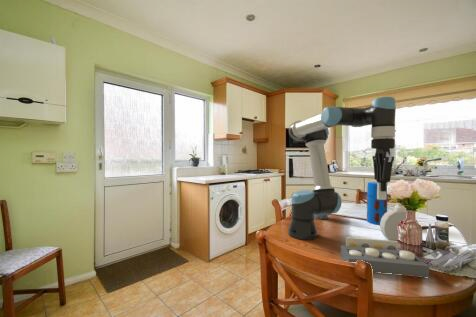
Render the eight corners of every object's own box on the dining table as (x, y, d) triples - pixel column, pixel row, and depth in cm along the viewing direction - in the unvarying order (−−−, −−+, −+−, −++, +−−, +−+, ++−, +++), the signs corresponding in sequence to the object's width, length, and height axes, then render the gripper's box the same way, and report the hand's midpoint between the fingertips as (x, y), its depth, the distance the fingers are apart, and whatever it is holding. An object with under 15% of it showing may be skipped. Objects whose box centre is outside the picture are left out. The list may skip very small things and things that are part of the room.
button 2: (367, 259, 84) (367, 252, 84) (363, 254, 88) (363, 247, 88) (381, 261, 83) (381, 253, 83) (376, 255, 87) (376, 248, 87)
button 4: (403, 263, 81) (403, 255, 81) (396, 257, 86) (396, 249, 86) (417, 264, 80) (417, 256, 80) (410, 258, 85) (410, 250, 85)
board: (348, 270, 82) (349, 258, 82) (340, 255, 94) (340, 245, 94) (428, 278, 77) (429, 266, 76) (409, 261, 88) (409, 251, 88)
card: (346, 253, 95) (346, 238, 95) (345, 252, 96) (346, 237, 96) (398, 258, 91) (398, 241, 91) (396, 257, 92) (397, 240, 92)
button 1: (350, 262, 85) (350, 254, 85) (347, 256, 90) (347, 249, 90) (363, 263, 84) (363, 255, 84) (359, 257, 89) (359, 250, 89)
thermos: (391, 224, 135) (391, 184, 135) (379, 226, 131) (379, 185, 131) (374, 219, 146) (375, 181, 145) (362, 220, 142) (363, 182, 141)
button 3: (385, 265, 83) (385, 257, 83) (379, 259, 87) (380, 252, 87) (398, 266, 82) (398, 258, 82) (392, 260, 86) (392, 253, 86)
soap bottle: (413, 238, 113) (413, 199, 113) (419, 242, 108) (420, 202, 108) (379, 235, 116) (379, 198, 116) (383, 239, 111) (384, 200, 110)
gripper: (402, 137, 77) (401, 203, 77) (385, 139, 89) (384, 196, 90) (379, 137, 78) (378, 202, 79) (365, 139, 91) (364, 195, 92)
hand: (381, 199), depth 84 cm, fingers closed
